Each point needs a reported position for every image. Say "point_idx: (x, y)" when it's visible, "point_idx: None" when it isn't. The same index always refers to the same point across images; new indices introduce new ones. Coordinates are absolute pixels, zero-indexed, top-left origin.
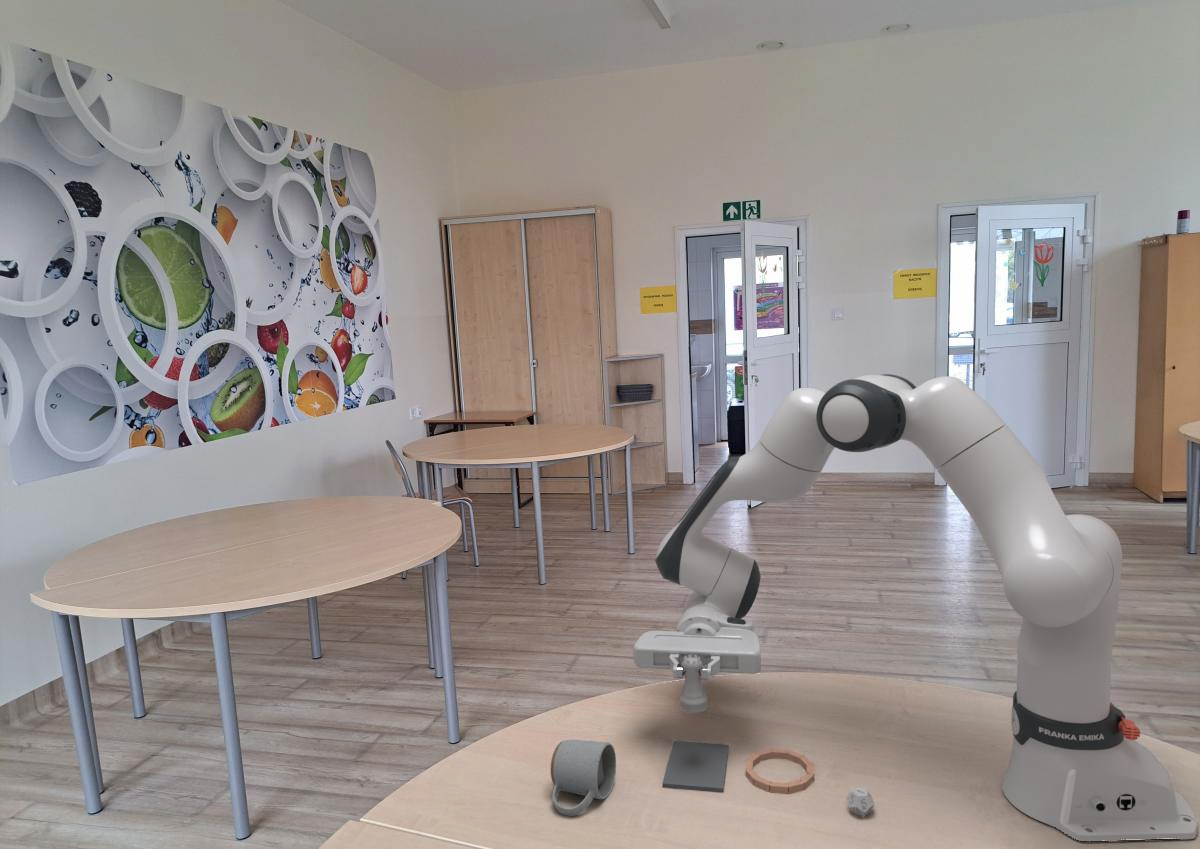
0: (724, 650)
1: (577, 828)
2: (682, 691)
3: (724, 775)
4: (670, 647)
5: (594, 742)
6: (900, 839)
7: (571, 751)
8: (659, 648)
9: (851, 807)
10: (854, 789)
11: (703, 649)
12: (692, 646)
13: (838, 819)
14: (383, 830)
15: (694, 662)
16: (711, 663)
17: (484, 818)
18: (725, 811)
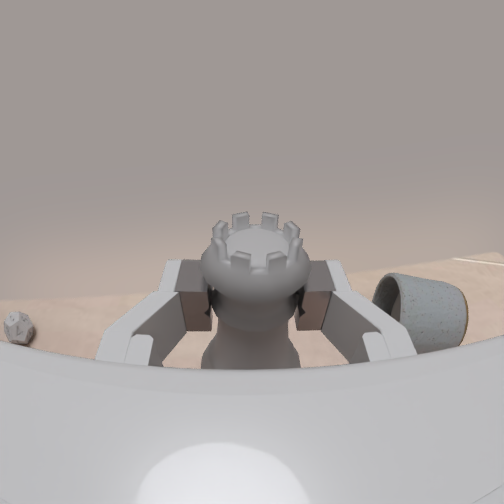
0: (48, 365)
1: (369, 284)
2: (293, 350)
3: None
4: (445, 364)
5: (422, 295)
6: (16, 300)
7: (436, 281)
8: (485, 344)
9: (31, 322)
10: (14, 323)
11: (195, 385)
12: (301, 422)
13: (51, 325)
14: (494, 259)
15: (238, 217)
16: (154, 301)
17: (455, 281)
18: (187, 333)
